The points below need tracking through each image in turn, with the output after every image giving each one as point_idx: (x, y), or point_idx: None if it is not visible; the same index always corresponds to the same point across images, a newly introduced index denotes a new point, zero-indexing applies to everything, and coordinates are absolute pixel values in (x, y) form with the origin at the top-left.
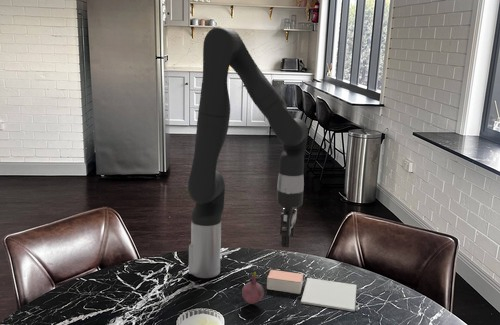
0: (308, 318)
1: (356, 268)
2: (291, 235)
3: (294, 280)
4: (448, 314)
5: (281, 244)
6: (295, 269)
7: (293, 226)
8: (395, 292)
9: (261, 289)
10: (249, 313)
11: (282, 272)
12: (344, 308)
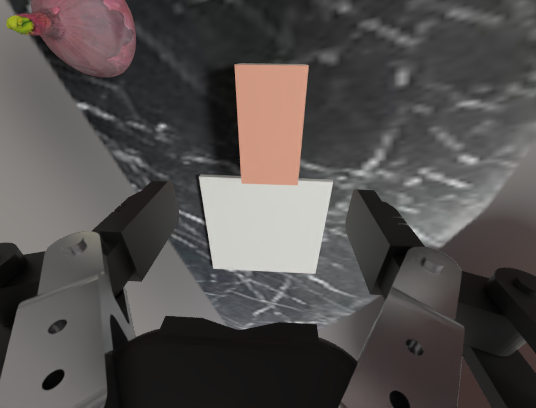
0: None
1: None
2: (349, 219)
3: (246, 165)
4: None
5: (148, 184)
6: (399, 139)
7: (367, 280)
8: (306, 315)
9: (85, 69)
10: None
11: (293, 118)
12: (211, 254)
